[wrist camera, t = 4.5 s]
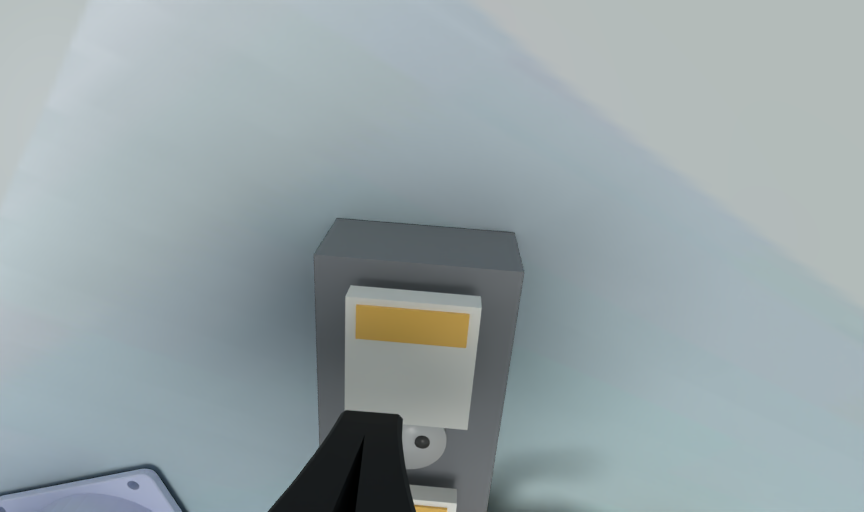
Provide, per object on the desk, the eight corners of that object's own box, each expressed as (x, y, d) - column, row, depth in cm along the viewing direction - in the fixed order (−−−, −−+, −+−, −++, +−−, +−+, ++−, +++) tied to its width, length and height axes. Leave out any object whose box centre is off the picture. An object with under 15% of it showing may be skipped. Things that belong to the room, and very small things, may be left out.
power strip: (470, 538, 24) (472, 612, 21) (339, 525, 24) (322, 598, 21) (514, 232, 17) (525, 276, 14) (336, 218, 17) (311, 258, 15)
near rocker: (466, 404, 16) (467, 432, 15) (352, 394, 16) (343, 421, 15) (480, 288, 15) (481, 309, 14) (353, 278, 15) (344, 298, 14)
